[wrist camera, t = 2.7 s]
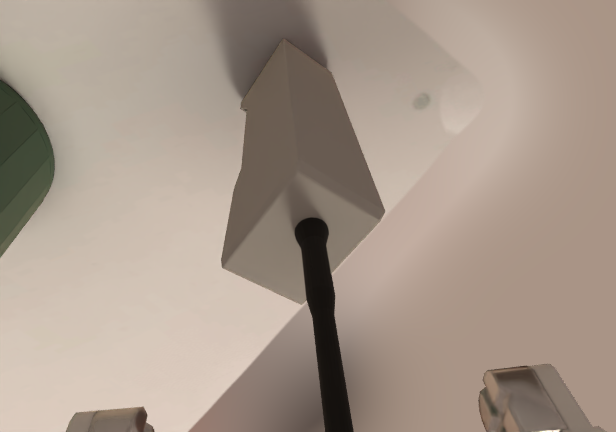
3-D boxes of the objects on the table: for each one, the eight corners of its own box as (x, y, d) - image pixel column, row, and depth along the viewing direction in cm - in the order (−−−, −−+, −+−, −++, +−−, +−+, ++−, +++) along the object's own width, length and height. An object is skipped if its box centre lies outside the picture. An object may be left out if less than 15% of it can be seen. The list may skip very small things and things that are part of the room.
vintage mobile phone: (240, 102, 30) (185, 524, 10) (283, 36, 28) (328, 396, 8) (287, 131, 32) (327, 555, 11) (331, 71, 30) (481, 454, 9)
